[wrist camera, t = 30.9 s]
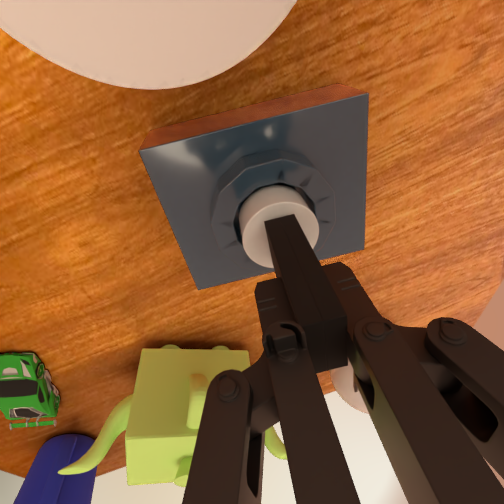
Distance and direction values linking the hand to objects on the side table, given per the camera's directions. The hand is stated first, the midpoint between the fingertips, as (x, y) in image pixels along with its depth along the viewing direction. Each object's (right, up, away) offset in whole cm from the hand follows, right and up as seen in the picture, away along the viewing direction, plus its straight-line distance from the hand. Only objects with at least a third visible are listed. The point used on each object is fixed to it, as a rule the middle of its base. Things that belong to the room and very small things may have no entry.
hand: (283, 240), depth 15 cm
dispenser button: (0, +1, +2) cm, 2 cm away
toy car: (-24, -14, +16) cm, 32 cm away
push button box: (-1, +4, +6) cm, 8 cm away
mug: (-24, -24, +23) cm, 40 cm away
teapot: (-8, -13, +18) cm, 23 cm away
